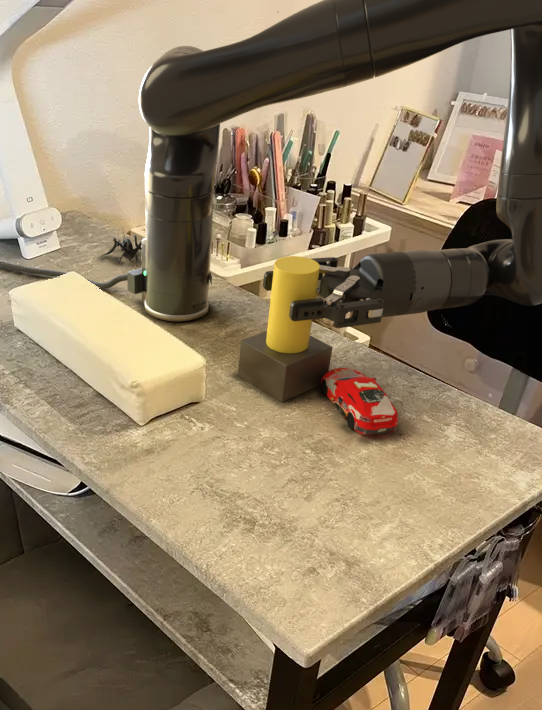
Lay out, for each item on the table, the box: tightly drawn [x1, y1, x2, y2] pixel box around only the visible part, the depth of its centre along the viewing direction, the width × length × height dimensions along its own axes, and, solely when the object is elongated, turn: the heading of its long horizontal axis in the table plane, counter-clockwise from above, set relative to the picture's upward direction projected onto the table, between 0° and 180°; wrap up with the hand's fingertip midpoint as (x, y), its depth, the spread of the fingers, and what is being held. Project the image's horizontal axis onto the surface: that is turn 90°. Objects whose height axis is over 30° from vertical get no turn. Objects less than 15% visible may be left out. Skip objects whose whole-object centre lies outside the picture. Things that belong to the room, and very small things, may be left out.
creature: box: [100, 227, 145, 264], centre depth 126 cm, size 8×5×8 cm
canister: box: [266, 255, 320, 353], centre depth 91 cm, size 5×5×10 cm
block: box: [237, 330, 334, 403], centre depth 96 cm, size 8×8×5 cm
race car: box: [320, 367, 399, 436], centre depth 91 cm, size 13×5×4 cm, turn 12°
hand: (277, 296), depth 90 cm, fingers open, 8 cm apart
